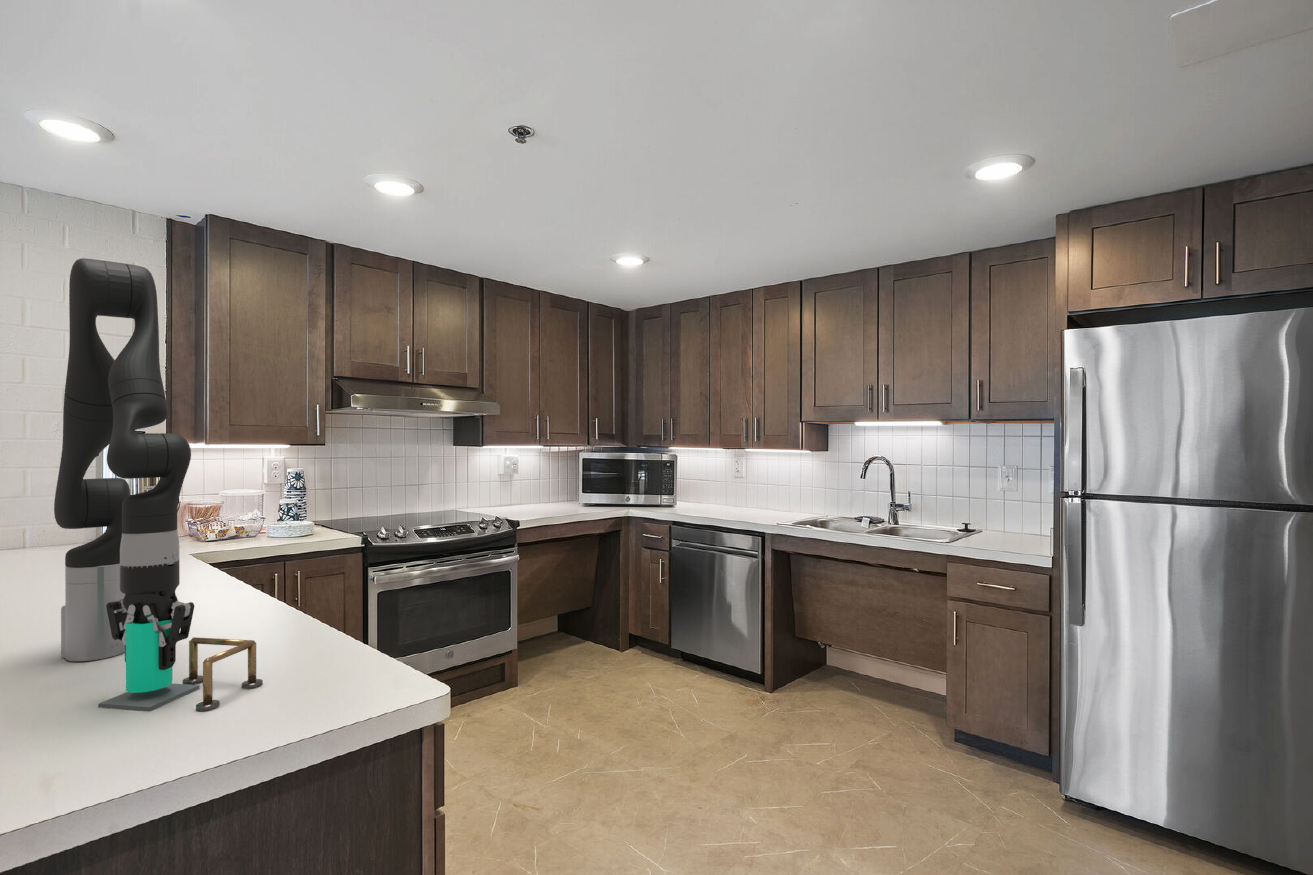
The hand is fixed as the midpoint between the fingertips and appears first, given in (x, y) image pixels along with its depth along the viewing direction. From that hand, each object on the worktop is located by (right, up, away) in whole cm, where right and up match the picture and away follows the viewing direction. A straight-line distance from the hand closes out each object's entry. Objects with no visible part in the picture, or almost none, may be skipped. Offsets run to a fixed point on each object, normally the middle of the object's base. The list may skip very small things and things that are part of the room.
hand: (150, 666), depth 106 cm
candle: (0, -3, 0) cm, 3 cm away
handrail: (+7, -5, +1) cm, 9 cm away
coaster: (0, -5, 0) cm, 5 cm away
